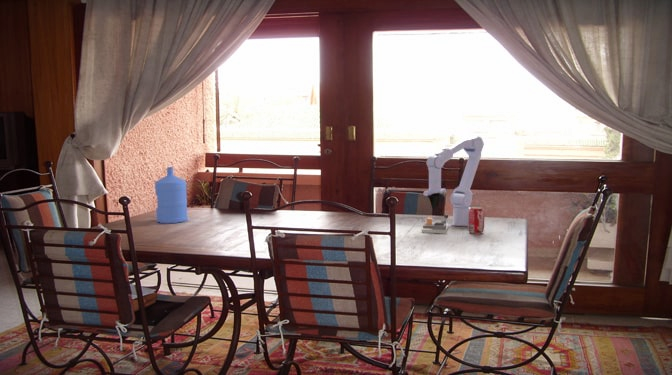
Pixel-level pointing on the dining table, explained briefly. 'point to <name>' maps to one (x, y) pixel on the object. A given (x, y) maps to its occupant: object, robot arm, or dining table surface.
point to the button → (439, 224)
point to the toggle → (445, 217)
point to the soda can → (476, 220)
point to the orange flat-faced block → (429, 221)
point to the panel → (435, 228)
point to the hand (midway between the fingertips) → (434, 209)
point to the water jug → (171, 198)
